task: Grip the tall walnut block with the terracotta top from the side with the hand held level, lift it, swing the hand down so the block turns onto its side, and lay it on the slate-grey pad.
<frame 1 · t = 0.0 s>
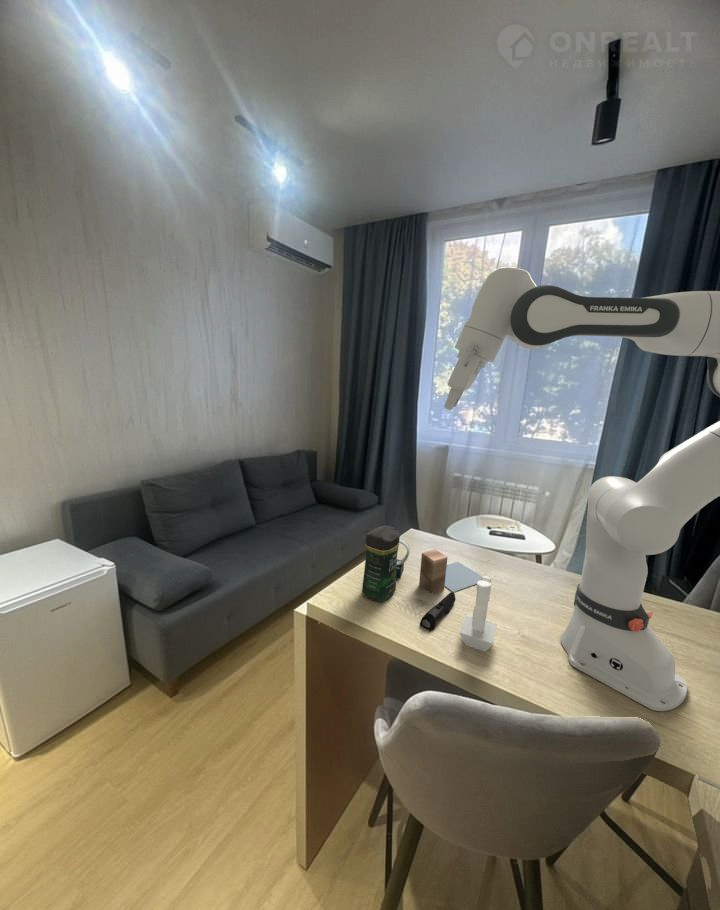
hand: (449, 407, 84), 52 cm above the table, tool tilted 20°, fingers open, 8 cm apart
slate pad: (455, 576, 112), on the table
white peg stand: (476, 643, 85), on the table
coffee jar: (379, 593, 102), on the table
electric trimmer: (438, 615, 95), on the table
walnut block: (431, 587, 106), on the table
watch: (394, 573, 113), on the table
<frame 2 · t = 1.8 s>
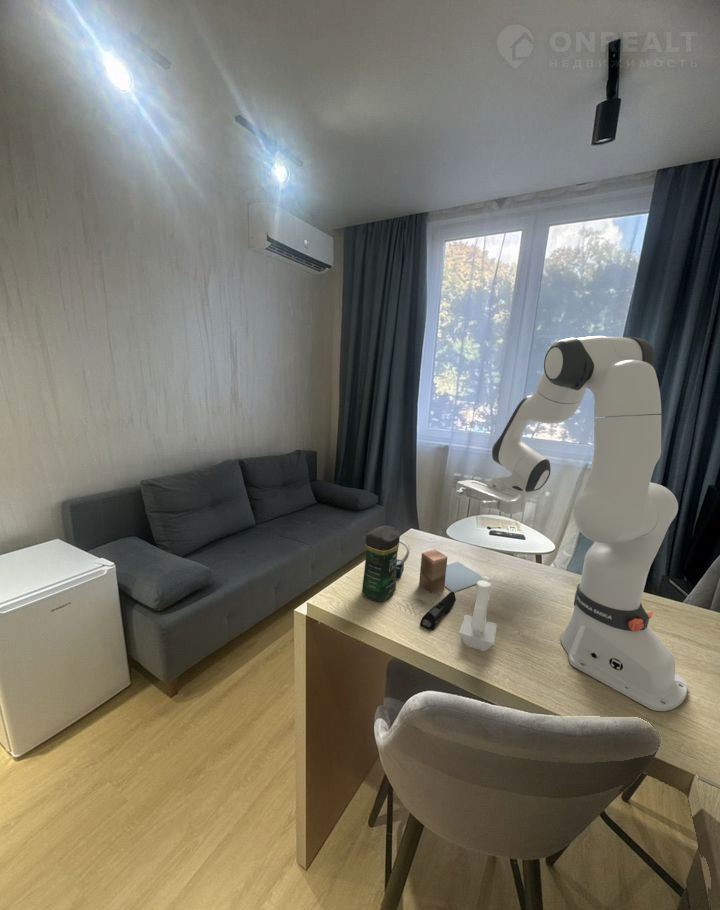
hand: (469, 499, 107), 25 cm above the table, tool horizontal, fingers open, 8 cm apart
nothing on the table moved.
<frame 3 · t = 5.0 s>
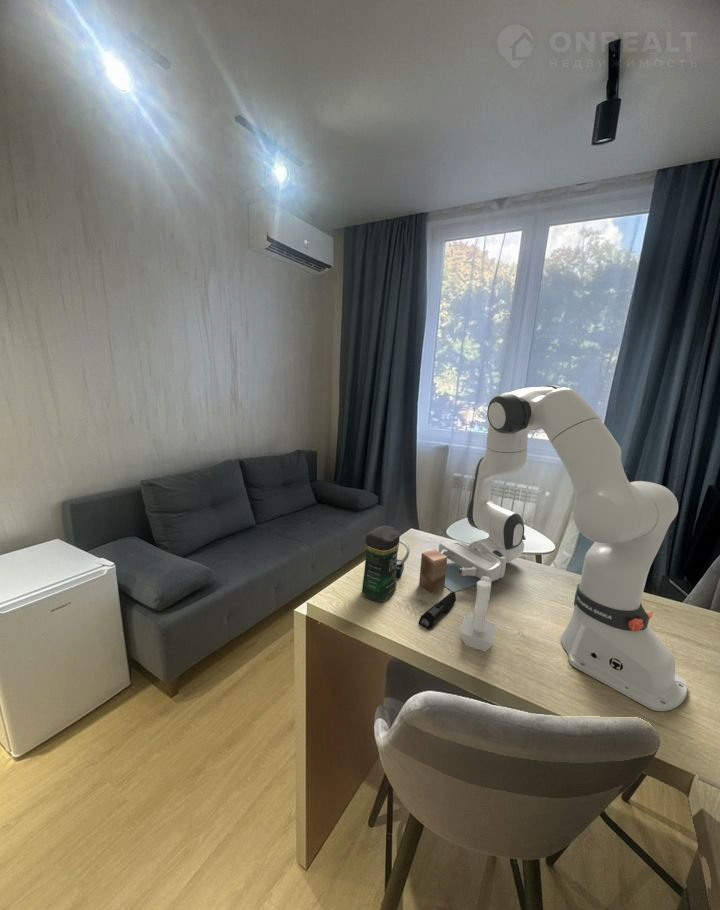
hand: (448, 564, 108), 5 cm above the table, tool horizontal, fingers open, 8 cm apart
nothing on the table moved.
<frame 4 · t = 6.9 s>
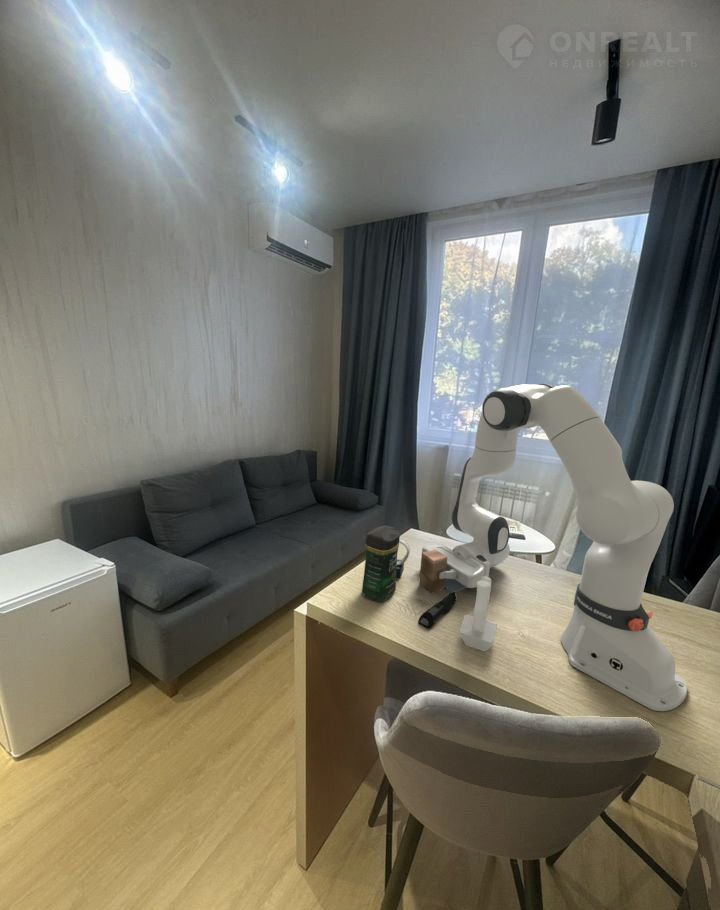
hand: (430, 570, 105), 6 cm above the table, tool horizontal, fingers closed on walnut block, 5 cm apart
walnut block: (431, 587, 106), on the table, touching gripper
everything else where it was.
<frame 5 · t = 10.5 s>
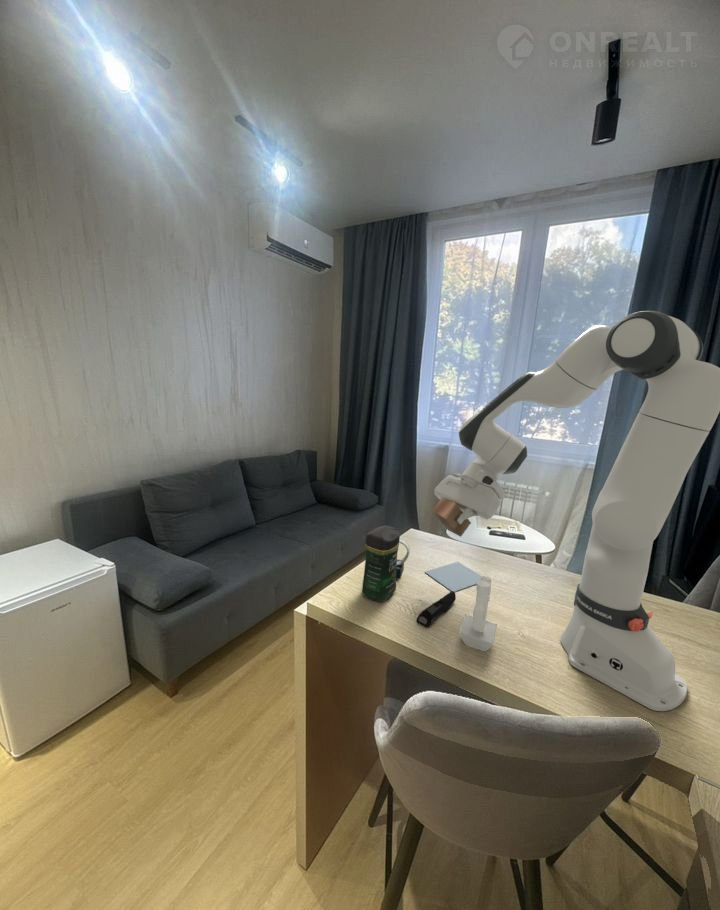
hand: (448, 518, 105), 20 cm above the table, tool tilted 45°, fingers closed on walnut block, 5 cm apart
walnut block: (459, 526, 108), point 17 cm above the table, tilted 45°, touching gripper
everything else where it was.
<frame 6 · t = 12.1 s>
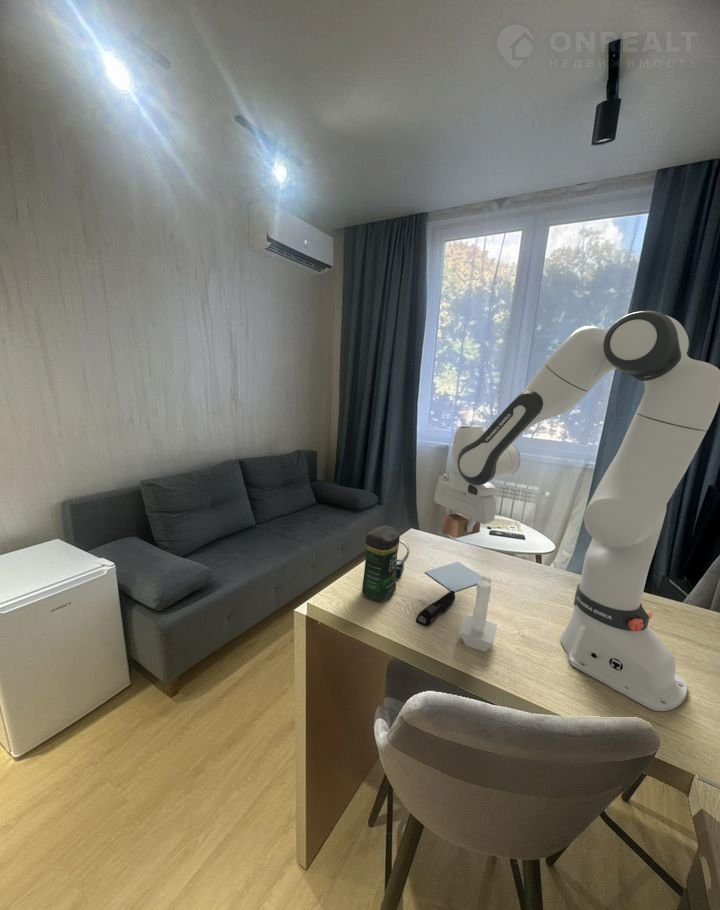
hand: (459, 527, 109), 16 cm above the table, tool pointing down, fingers closed on walnut block, 5 cm apart
walnut block: (473, 521, 111), point 17 cm above the table, tilted 90°, touching gripper
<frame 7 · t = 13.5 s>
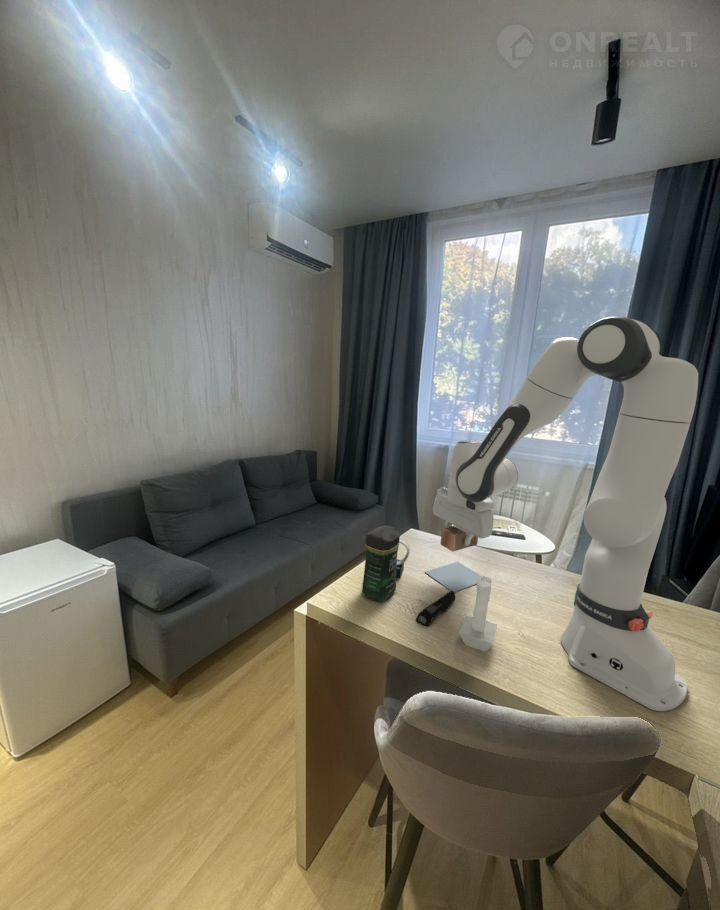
hand: (457, 539, 110), 12 cm above the table, tool pointing down, fingers closed on walnut block, 5 cm apart
walnut block: (471, 533, 112), point 13 cm above the table, tilted 90°, touching gripper
when the fingers open (3 cm above the table, at t = 15.3 s): walnut block drops 1 cm, resting on slate pad.
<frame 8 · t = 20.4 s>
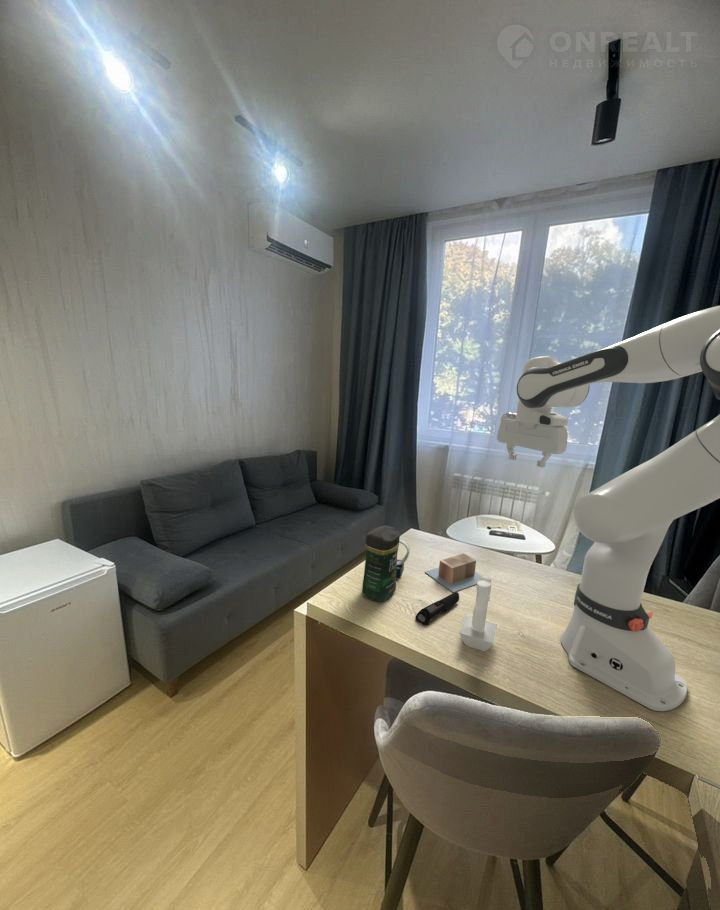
hand: (525, 463, 109), 35 cm above the table, tool pointing down, fingers open, 8 cm apart
walnut block: (469, 564, 114), point 3 cm above the table, tilted 90°, touching slate pad
at the end: walnut block tilted 90°; walnut block inside the target area (3.1 cm from its centre), point 2.8 cm above the table; the gripper is holding nothing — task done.
